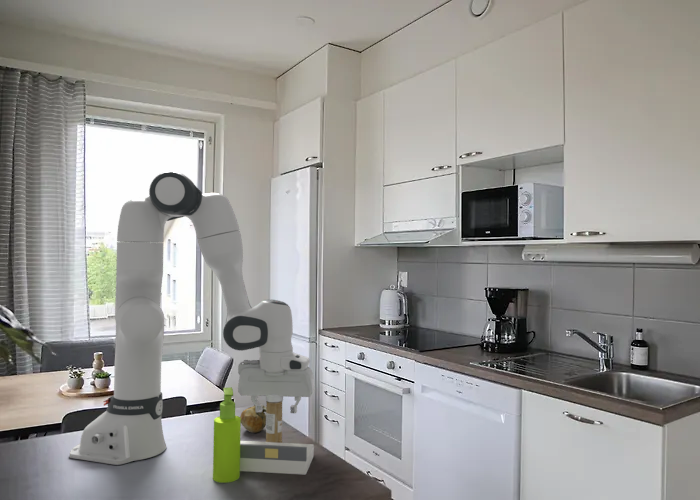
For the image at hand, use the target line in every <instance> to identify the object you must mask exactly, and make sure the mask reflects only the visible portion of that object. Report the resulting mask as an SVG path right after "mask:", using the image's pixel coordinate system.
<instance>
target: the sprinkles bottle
mask: <svg viewBox="0 0 700 500" xmlns="http://www.w3.org/2000/svg"><path fill="white" fill-rule="evenodd" d="M283 401H284V397H282V396H279V395H267V396H265V403H266V406H265V407H266V412H265V415H266V426H265V442H275V443H283Z"/></svg>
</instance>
